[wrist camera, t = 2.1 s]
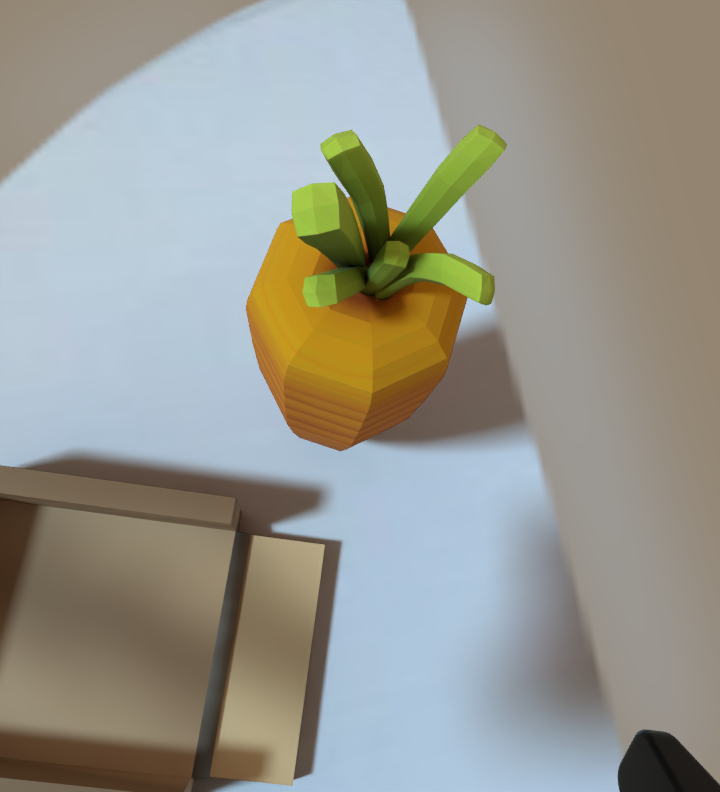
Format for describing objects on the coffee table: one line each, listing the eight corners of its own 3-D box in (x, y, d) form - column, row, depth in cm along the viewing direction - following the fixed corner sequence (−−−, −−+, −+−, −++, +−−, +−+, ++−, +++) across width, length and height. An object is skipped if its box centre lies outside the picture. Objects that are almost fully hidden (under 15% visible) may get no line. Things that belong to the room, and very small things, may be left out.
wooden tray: (288, 809, 20) (288, 843, 17) (-109, 767, 19) (-177, 795, 16) (326, 523, 23) (333, 510, 20) (-18, 476, 22) (-63, 456, 19)
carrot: (389, 358, 25) (525, 30, 11) (403, 486, 23) (583, 300, 9) (258, 363, 24) (222, 22, 10) (264, 495, 23) (230, 311, 9)
